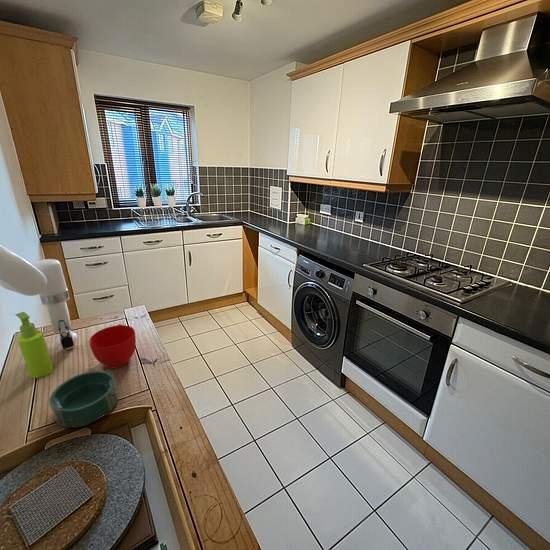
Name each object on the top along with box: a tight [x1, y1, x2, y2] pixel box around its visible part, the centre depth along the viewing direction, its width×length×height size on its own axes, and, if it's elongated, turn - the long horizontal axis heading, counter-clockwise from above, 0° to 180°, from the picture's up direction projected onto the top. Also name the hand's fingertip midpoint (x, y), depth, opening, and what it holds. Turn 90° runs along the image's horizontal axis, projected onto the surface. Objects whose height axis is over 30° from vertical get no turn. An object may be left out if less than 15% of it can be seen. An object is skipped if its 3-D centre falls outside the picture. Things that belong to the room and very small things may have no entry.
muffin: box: [55, 329, 78, 350], centre depth 102 cm, size 6×6×7 cm
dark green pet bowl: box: [49, 370, 120, 428], centre depth 78 cm, size 15×15×6 cm
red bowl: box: [88, 323, 137, 369], centre depth 96 cm, size 13×17×10 cm
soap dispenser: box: [14, 311, 54, 379], centre depth 88 cm, size 6×7×20 cm
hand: (67, 341), depth 102 cm, fingers open, 7 cm apart
